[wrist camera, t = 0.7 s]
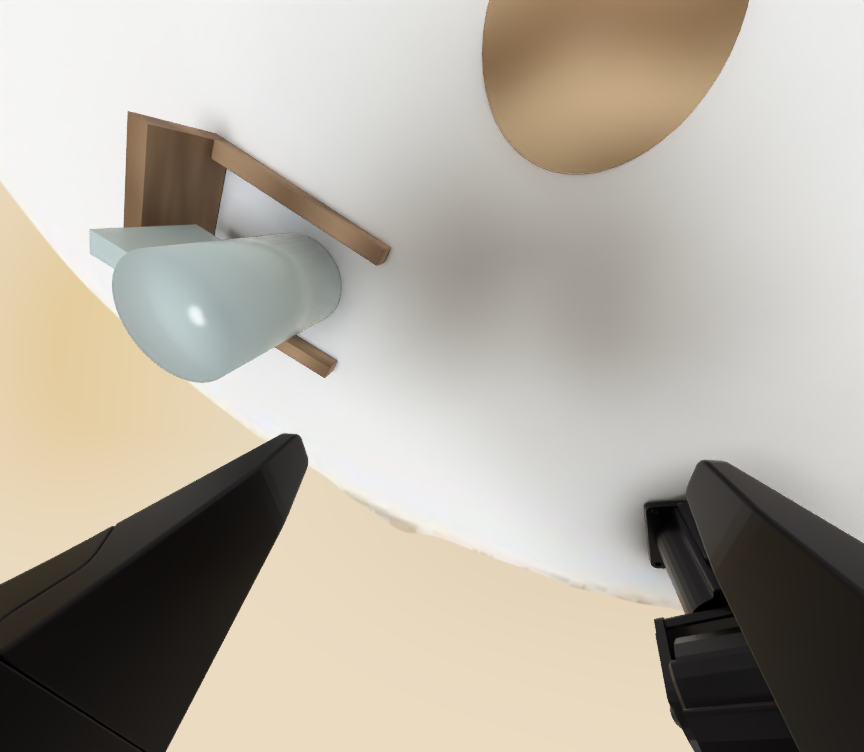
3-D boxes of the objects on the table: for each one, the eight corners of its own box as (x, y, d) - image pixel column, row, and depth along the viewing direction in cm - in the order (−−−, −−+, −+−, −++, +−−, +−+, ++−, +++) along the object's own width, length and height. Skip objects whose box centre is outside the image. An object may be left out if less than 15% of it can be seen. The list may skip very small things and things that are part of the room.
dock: (390, 247, 20) (355, 258, 16) (332, 371, 25) (293, 405, 21) (215, 133, 19) (128, 111, 15) (192, 283, 24) (121, 299, 20)
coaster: (741, 121, 14) (748, 118, 14) (509, 204, 18) (509, 204, 17) (752, -240, 11) (762, -260, 10) (456, -49, 14) (455, -58, 13)
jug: (354, 265, 21) (249, 301, 13) (324, 336, 24) (222, 404, 15) (234, 187, 20) (42, 172, 12) (217, 269, 23) (53, 303, 15)
